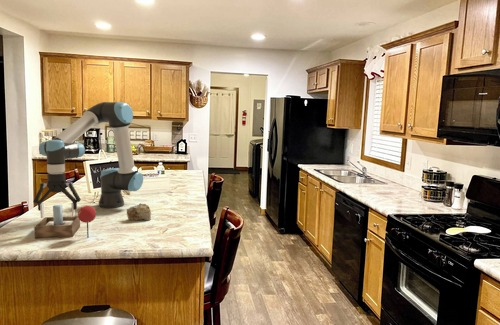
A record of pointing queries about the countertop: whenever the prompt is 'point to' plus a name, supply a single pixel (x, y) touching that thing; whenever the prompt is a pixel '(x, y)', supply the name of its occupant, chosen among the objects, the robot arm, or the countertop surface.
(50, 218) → the box
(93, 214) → the lollipop
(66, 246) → the countertop surface
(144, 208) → the rock
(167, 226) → the countertop surface
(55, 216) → the peg
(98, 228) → the countertop surface
